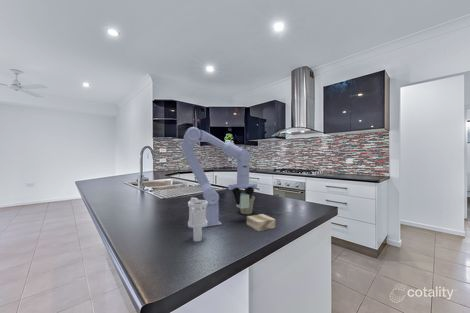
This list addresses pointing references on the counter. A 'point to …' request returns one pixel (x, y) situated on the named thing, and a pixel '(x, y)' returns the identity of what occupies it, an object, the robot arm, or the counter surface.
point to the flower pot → (249, 210)
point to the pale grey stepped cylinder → (197, 217)
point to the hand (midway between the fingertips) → (242, 203)
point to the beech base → (261, 222)
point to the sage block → (243, 201)
